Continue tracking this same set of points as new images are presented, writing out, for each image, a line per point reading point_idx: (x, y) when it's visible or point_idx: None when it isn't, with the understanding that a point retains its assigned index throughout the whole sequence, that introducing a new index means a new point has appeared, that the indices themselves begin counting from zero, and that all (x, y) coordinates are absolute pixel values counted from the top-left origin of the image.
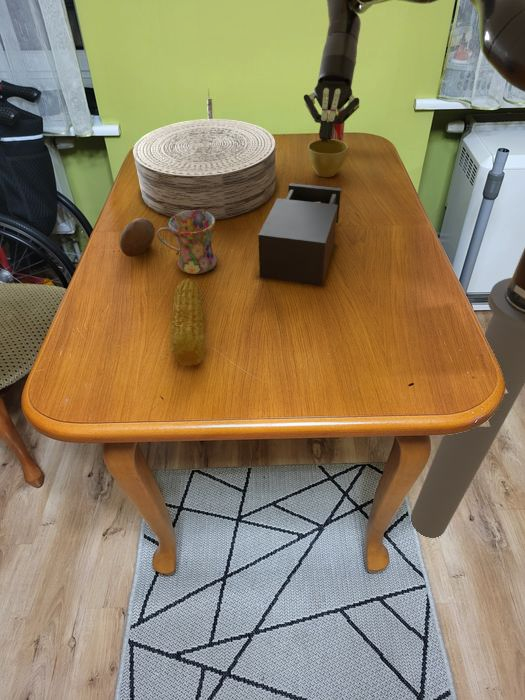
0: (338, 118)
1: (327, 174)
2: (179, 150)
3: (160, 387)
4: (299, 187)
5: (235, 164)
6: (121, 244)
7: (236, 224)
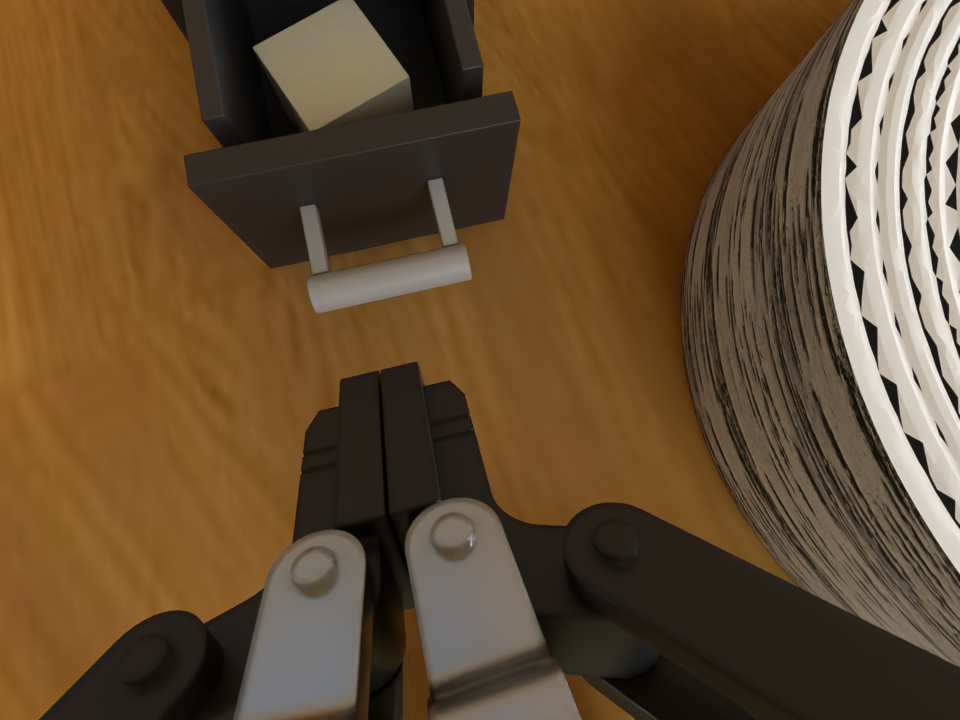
0: (184, 617)
1: None
2: None
3: None
4: (443, 107)
5: (940, 58)
6: None
7: (683, 96)
